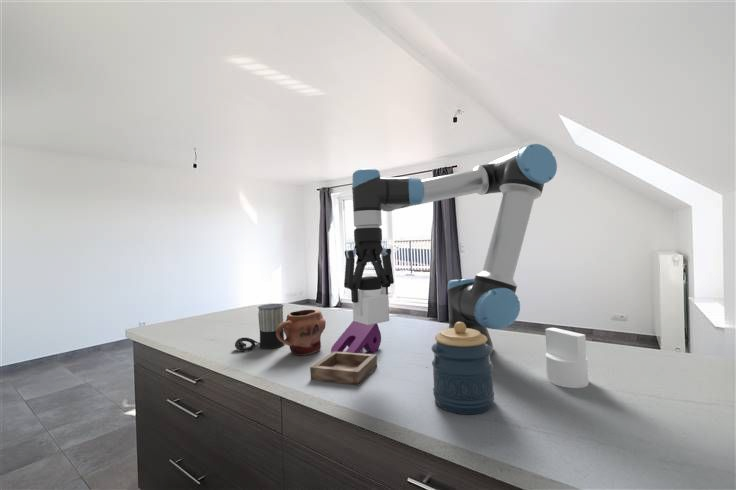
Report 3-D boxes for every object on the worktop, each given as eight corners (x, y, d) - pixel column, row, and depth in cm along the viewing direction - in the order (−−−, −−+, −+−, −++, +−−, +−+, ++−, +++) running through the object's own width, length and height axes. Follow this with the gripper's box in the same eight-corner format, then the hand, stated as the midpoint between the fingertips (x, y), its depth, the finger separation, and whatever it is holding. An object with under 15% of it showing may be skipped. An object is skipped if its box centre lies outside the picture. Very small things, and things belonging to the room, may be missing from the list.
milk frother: (290, 343, 128) (288, 304, 128) (255, 356, 115) (253, 312, 115) (265, 339, 136) (263, 302, 136) (229, 350, 122) (228, 309, 122)
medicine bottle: (389, 321, 91) (388, 276, 91) (368, 325, 87) (366, 278, 87) (373, 317, 97) (372, 274, 97) (352, 321, 93) (351, 277, 93)
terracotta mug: (292, 365, 104) (290, 319, 104) (266, 358, 111) (265, 316, 111) (335, 347, 121) (333, 308, 121) (310, 342, 128) (308, 305, 128)
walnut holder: (377, 366, 100) (376, 354, 100) (358, 385, 87) (358, 371, 87) (334, 362, 105) (333, 351, 105) (310, 379, 92) (310, 367, 92)
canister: (490, 390, 81) (487, 315, 81) (498, 418, 68) (494, 329, 68) (434, 387, 84) (431, 315, 84) (432, 413, 71) (428, 328, 71)
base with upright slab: (538, 377, 87) (535, 330, 87) (562, 371, 90) (560, 325, 90) (571, 391, 78) (569, 338, 78) (597, 383, 82) (594, 333, 82)
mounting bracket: (357, 380, 106) (383, 341, 119) (349, 359, 103) (376, 321, 116) (333, 374, 111) (361, 338, 124) (325, 354, 108) (354, 319, 121)
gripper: (389, 228, 101) (392, 306, 101) (327, 228, 90) (331, 315, 90) (405, 226, 94) (408, 309, 94) (341, 226, 83) (345, 320, 83)
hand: (370, 312), depth 92 cm, fingers closed on medicine bottle, 7 cm apart
